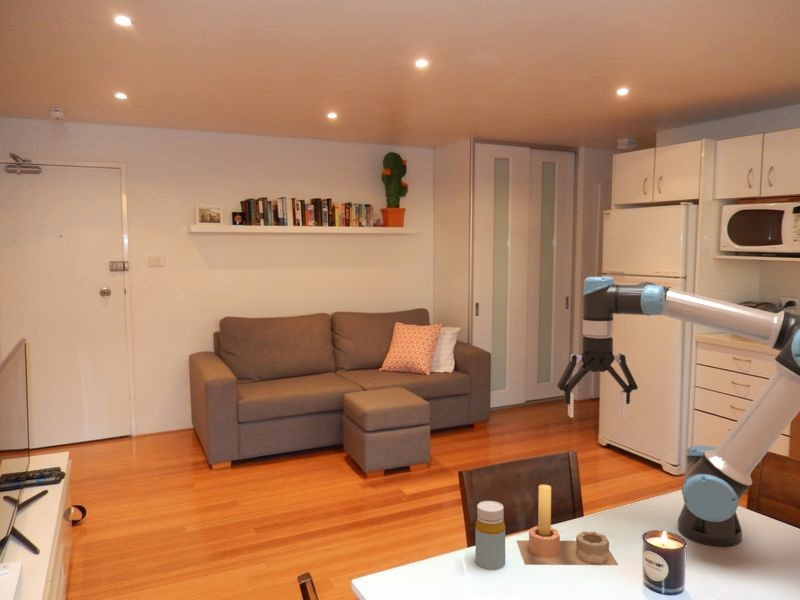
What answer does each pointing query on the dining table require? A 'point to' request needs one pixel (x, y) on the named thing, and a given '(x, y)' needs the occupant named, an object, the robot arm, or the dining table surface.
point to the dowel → (544, 511)
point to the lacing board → (563, 558)
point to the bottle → (490, 535)
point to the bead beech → (592, 547)
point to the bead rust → (544, 543)
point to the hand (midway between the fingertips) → (596, 416)
